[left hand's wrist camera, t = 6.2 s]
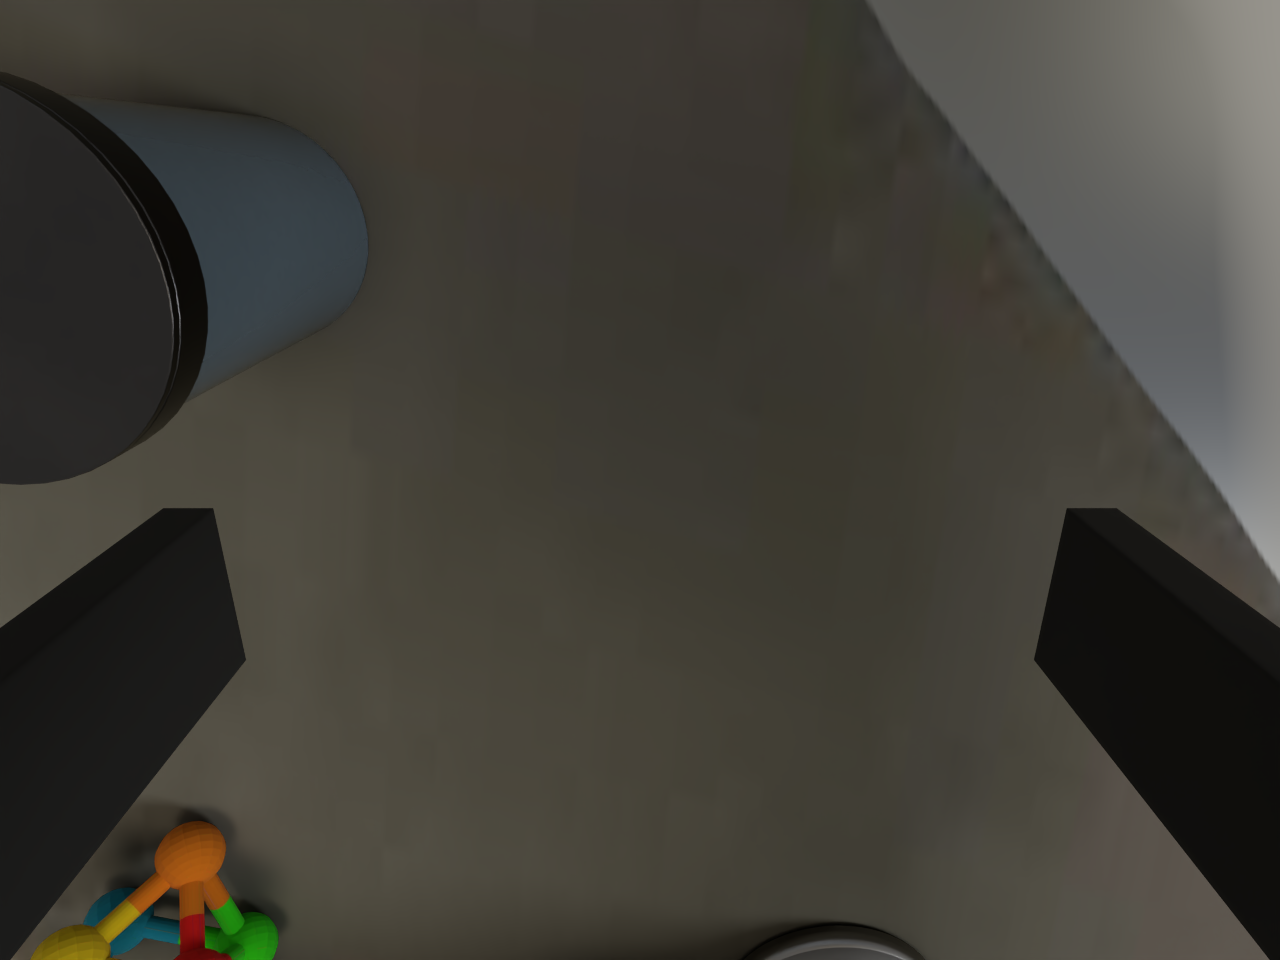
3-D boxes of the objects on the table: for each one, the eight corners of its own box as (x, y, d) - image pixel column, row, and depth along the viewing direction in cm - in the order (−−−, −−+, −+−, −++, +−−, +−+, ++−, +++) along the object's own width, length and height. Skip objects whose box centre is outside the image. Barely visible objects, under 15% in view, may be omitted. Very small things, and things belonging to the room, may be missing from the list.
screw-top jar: (189, 67, 35) (-197, -11, 19) (403, 190, 37) (218, 216, 21) (121, 273, 38) (-258, 357, 22) (321, 376, 40) (106, 524, 24)
